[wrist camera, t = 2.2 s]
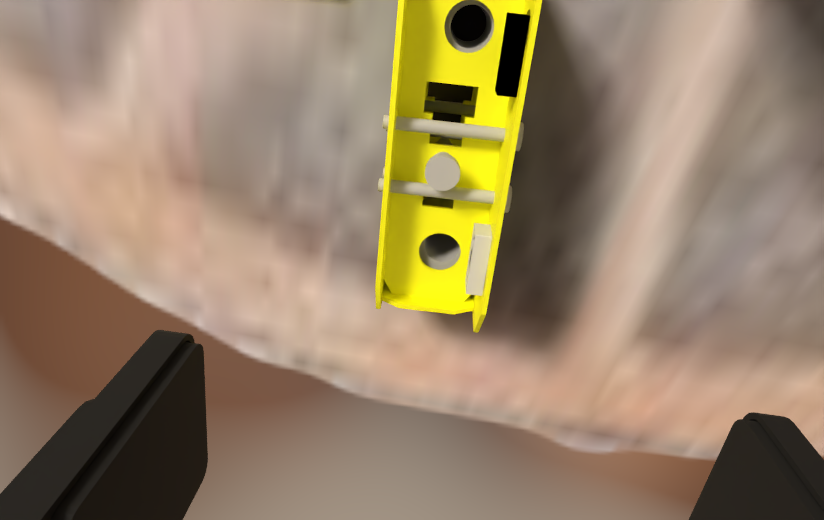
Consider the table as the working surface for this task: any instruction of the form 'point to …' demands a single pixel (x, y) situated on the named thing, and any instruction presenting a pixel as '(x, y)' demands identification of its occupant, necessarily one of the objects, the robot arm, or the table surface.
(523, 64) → the yellow toy chassis
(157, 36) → the table surface
